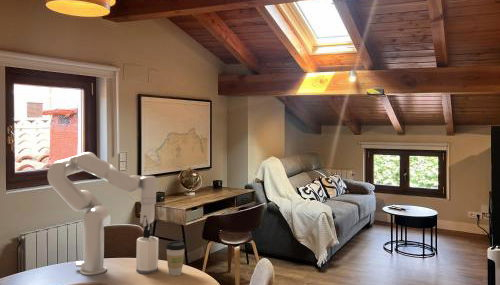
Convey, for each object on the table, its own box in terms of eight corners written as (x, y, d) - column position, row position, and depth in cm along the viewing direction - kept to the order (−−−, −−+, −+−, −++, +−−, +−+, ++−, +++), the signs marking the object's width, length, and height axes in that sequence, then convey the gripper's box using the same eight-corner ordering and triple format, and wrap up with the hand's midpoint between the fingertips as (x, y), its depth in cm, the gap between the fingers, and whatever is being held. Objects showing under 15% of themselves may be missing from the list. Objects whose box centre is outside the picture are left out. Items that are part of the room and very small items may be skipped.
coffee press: (133, 273, 207) (134, 241, 206) (141, 265, 219) (141, 235, 219) (154, 274, 206) (155, 242, 206) (161, 265, 219) (161, 235, 219)
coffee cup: (180, 277, 203) (181, 247, 202) (161, 275, 205) (162, 245, 204) (187, 271, 212) (188, 241, 212) (169, 269, 214) (170, 240, 214)
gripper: (145, 197, 219) (145, 232, 220) (135, 203, 203) (135, 240, 203) (159, 198, 219) (159, 232, 220) (151, 203, 202) (150, 241, 203)
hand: (147, 236), depth 211 cm, fingers open, 3 cm apart
